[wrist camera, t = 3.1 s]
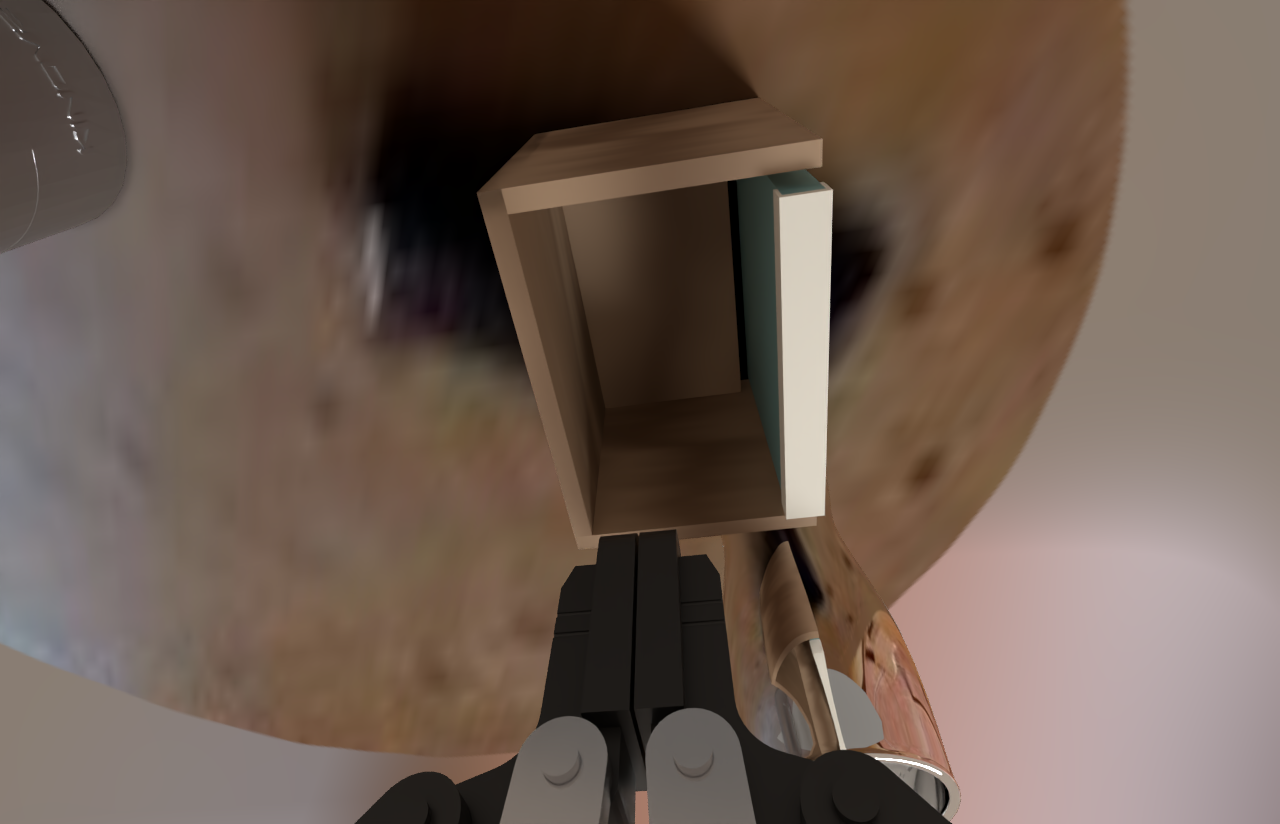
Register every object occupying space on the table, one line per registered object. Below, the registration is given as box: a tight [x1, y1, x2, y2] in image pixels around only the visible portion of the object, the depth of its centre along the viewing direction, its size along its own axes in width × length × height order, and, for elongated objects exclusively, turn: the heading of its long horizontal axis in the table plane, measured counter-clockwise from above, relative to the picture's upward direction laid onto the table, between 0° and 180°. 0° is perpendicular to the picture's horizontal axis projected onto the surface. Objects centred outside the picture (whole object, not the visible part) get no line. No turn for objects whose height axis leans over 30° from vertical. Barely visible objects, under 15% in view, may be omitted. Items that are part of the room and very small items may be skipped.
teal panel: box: [737, 169, 833, 519], centre depth 20 cm, size 1×10×9 cm, turn 8°
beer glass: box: [720, 478, 961, 822], centre depth 25 cm, size 7×7×15 cm
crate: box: [477, 98, 822, 550], centre depth 21 cm, size 8×12×9 cm
